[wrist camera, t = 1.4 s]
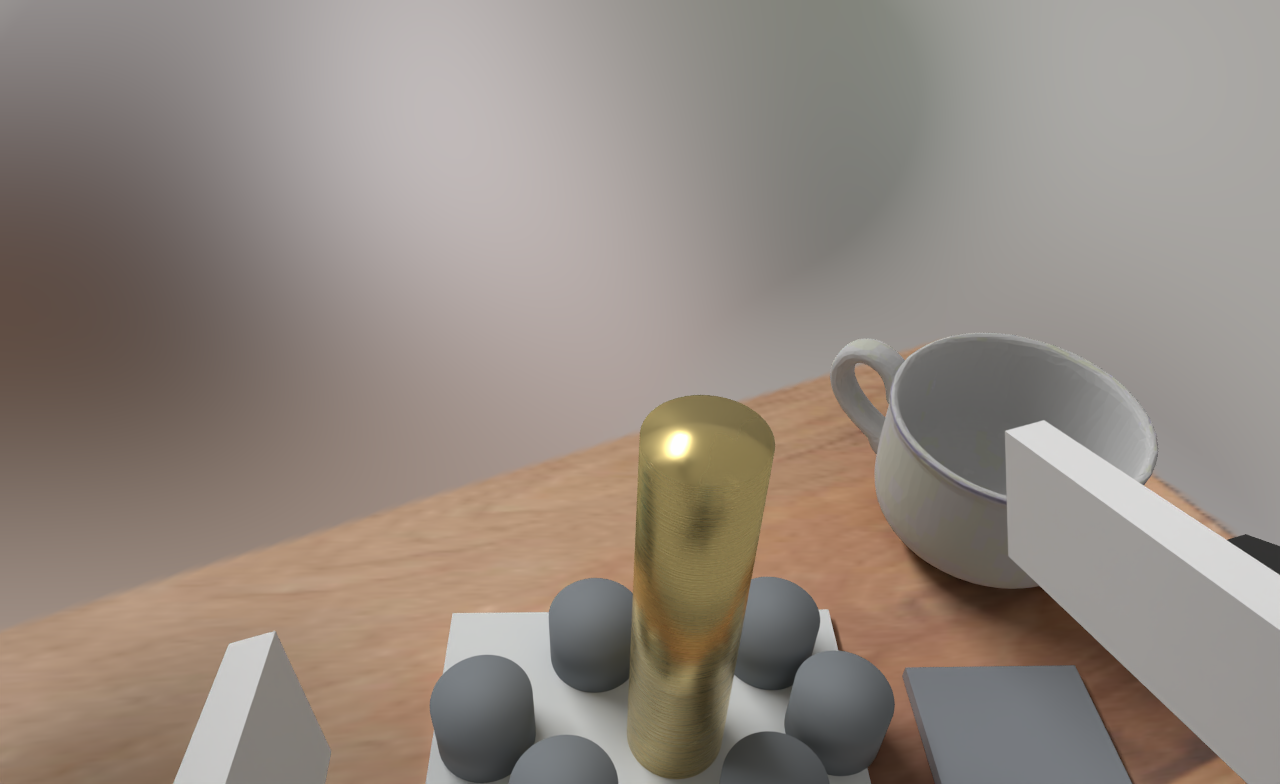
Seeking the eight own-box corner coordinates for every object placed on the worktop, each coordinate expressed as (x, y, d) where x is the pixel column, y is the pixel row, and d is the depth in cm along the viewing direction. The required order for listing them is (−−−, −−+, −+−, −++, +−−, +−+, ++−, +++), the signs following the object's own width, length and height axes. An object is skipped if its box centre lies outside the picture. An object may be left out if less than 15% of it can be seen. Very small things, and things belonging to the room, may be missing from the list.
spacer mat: (409, 902, 28) (396, 864, 26) (453, 618, 37) (445, 575, 35) (916, 889, 29) (939, 851, 27) (844, 615, 37) (857, 572, 35)
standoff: (627, 780, 31) (642, 486, 21) (625, 689, 34) (637, 394, 24) (727, 778, 31) (785, 486, 22) (716, 688, 34) (764, 395, 24)
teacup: (1133, 549, 41) (1209, 422, 36) (1002, 671, 35) (1070, 542, 30) (898, 397, 49) (933, 277, 44) (763, 478, 44) (785, 351, 39)
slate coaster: (957, 856, 30) (962, 848, 29) (902, 676, 35) (905, 667, 35) (1154, 851, 30) (1161, 844, 30) (1069, 673, 35) (1074, 665, 35)
